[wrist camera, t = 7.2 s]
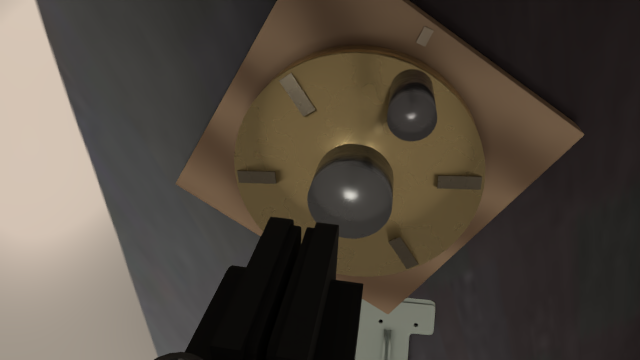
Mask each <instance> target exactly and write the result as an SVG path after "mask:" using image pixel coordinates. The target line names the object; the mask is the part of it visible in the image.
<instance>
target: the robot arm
mask: <svg viewBox="0 0 640 360" xmlns="http://www.w3.org/2000/svg"><path fill="white" fill-rule="evenodd" d="M338 239H339V225H335V224H327V223H319V222H317V223H316V225H315V228H311V227H307V229H306V231H305V234H304V237H303V240H302V243H301V226H295V225H294V220H293V219H287V218H279V217H270V218H269V220H268V222H267V224H266V227H265V229H264V231H263V233H262V235H261V237H260V239H259V242H258V244H257V246H256V248H255V250H254V252H253V255H252V257H251V259H250V261H249V263H248V265H247V267H240V266H230V267H229V268H228V270H227V271H226V273H225V275H224V277H223V279H222V281H221V283H220V285H219V287H218V289H217V291H216V293H215V295H214V297H213V299H212V300H211V302H210V304H209V306H208V308H207V310H206V312H205V314H204V316H203V318H202V320H201V322H200V324H199V326H198V328H197V330H196V331H195V333H194V335H193V337H192V339H191V341H190V343H189V345H188V347H187V349H186V351H185V352H177V353H169V354H166V355H163V356H160V357H158V358H156V359H154V360H355V355H356V347H357V339H358V330H359V322H360V313H361V303H362V294H363V283H355V282H348V281H341V280H336V270H337V254H338Z"/></svg>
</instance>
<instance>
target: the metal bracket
mask: <svg viewBox="0 0 640 360" xmlns="http://www.w3.org/2000/svg"><path fill="white" fill-rule="evenodd" d="M434 318H435V303H434V302H432V301H430V300H421V299H412V298H406V299H405V300H404V301H402V302H401V303H400V304H399V305H398V306H397V307H396V308H395V309H394V310H393V311H392V312H390V313H389V314H386V313H384V312H383V311H381V310H380V309H378V308H376V307H375V306H373V305H371V304H370V303H368V302H367V301H365V300H363V299H362V303H361V313H360V322H359V330H358V339H357V347H356V355H355V360H408V347H409V336H410V334H413V333H415V334H425V335H431V334H432V333H433V330H434ZM380 319H381V320H383V322H379V320H380ZM414 323H417V324H418V325H417V326H414Z"/></svg>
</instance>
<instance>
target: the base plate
mask: <svg viewBox="0 0 640 360" xmlns="http://www.w3.org/2000/svg"><path fill="white" fill-rule="evenodd" d="M346 45H368V46H379V47H383V48H388V49H392V50H396V51H399V52H401V53H404V54H407V55H410V56H412V57H414V58H416V59H418V60H420V61H422V62H423V63H425V64H427V65H429V66H430V67H431V68H433V69H434V70H435V71H437V72H438V73H440V74H441V75H442V76H443V77H444V78H445V79H446V80H447V81H448V82H449V83H450V84H451V85H452V86H453V87H454V88H455V89H456V91H457V92H458V93H459V94H460V96H461V97H462V98H463V100H464V102H465V103H466V105H467V107H468V109H469V110H470V112H471V114H472V117H473V120H474V122H475V125H476V127H477V130H478V133H479V137H480V140H481V143H482V148H483V152H484V157H485V182H484V190H483V193H482V197H481V201H480V204H479V206H478V209H477V211H476V213H475V216H474V217H473V219H472V221H471V222H470V224H469V226H468V227H467V229H466V230H465V231H464V232H463V233H462V235H461V236H460V237H459V238H458V239H457V240H456V241H455V242H454V243H453V244H452V245H451V246H450V247H449V248H448V249H447V250H445V251H444V252H442V253H441V254H440V255H438V256H437V257H435V258H433V259H432V260H430V261H428V262H426V263H424V264H422V265H420V266H417V267H415V268H412V269H410V270H406V271H403V272H399V273H396V274H390V275H383V276H370V277H362V276H349V275H342V274H336V280H341V281H348V282H355V283H363V294H362V299H363V300H365V301H367V302H368V303H370V304H371V305H373V306H375V307H376V308H378V309H380V310H381V311H383V312H384V313H386V314H389V313H390V312H392V311H393V310H394V309H395V308H396V307H397V306H398V305H399V304H400V303H401V302H402V301H404V300H405V299H406V298H407V297H408V296H409V295H410V294H411V293H412V292H413V291H414V290H416V289H417V288H418V287H419V286H420V285H421V284H422V283H423V282H424V281H425V280H426V279H428V278H429V277H430V276H431V275H432V274H433V273H434V272H435V271H436V270H437V269H439V268H440V267H441V266H442V265H443V264H444V263H445V262H446V261H447V260H448V259H449V258H451V257H452V256H453V255H454V254H455V253H456V252H457V251H458V250H459V249H460V248H461V247H463V246H464V245H465V244H466V243H467V242H468V241H469V240H470V239H471V238H472V237H473V236H475V235H476V234H477V233H478V232H479V231H480V230H481V229H482V228H483V227H484V226H485V225H487V224H488V223H489V222H490V221H491V220H492V219H493V218H494V217H495V216H496V215H497V214H499V213H500V212H501V211H502V210H503V209H504V208H505V207H506V206H507V205H508V204H509V203H511V202H512V201H513V200H514V199H515V198H516V197H517V196H518V195H519V194H520V193H521V192H523V191H524V190H525V189H526V188H527V187H528V186H529V185H530V184H531V183H532V182H533V181H535V180H536V179H537V178H538V177H539V176H540V175H541V174H542V173H543V172H544V171H545V170H547V169H548V168H549V167H550V166H551V165H552V164H553V163H554V162H555V161H556V160H557V159H559V158H560V157H561V156H562V155H563V154H564V153H565V152H566V151H567V150H568V149H569V148H571V147H572V146H573V145H574V144H575V143H576V142H577V141H578V140H579V139H580V138H582V137H583V136H584V133H583V132H582V131H581V130H580V128H579V127H578V126H577V125H576V124H575V122H573V121H572V120H571V119H569V118H568V117H566V116H565V115H564V114H562V113H561V112H560V111H558V110H557V109H556V108H554V107H553V106H552V105H550V104H549V103H547V102H546V101H545V100H543V99H542V98H541V97H539V96H538V95H537V94H535V93H534V92H533V91H531V90H530V89H529V88H527V87H526V86H524V85H523V84H522V83H520V82H519V81H518V80H516V79H515V78H514V77H512V76H511V75H510V74H508V73H507V72H506V71H504V70H503V69H501V68H500V67H499V66H497V65H496V64H495V63H493V62H492V61H491V60H489V59H488V58H487V57H485V56H484V55H482V54H481V53H480V52H478V51H477V50H476V49H474V48H473V47H472V46H470V45H469V44H468V43H466V42H465V41H464V40H462V39H461V38H459V37H458V36H457V35H455V34H454V33H453V32H451V31H450V30H449V29H447V28H446V27H445V26H443V25H442V24H441V23H439V22H438V21H436V20H435V19H434V18H432V17H431V16H430V15H428V14H427V13H426V12H424V11H423V10H422V9H420V8H419V7H417V6H416V5H415V4H413V3H412V2H411V1H409V0H277V2H276V3H275V5H274V7H273V9H272V11H271V12H270V14H269V16H268V18H267V20H266V21H265V23H264V25H263V27H262V29H261V30H260V32H259V34H258V36H257V38H256V39H255V41H254V43H253V45H252V47H251V48H250V50H249V52H248V54H247V56H246V58H245V59H244V61H243V63H242V65H241V67H240V68H239V70H238V72H237V74H236V76H235V77H234V79H233V81H232V83H231V85H230V86H229V88H228V90H227V92H226V94H225V95H224V97H223V99H222V101H221V103H220V104H219V106H218V108H217V110H216V112H215V113H214V115H213V117H212V119H211V121H210V122H209V124H208V126H207V128H206V130H205V132H204V133H203V135H202V137H201V139H200V141H199V142H198V144H197V146H196V148H195V150H194V151H193V153H192V155H191V157H190V159H189V160H188V162H187V164H186V166H185V168H184V169H183V171H182V173H181V175H180V177H179V178H178V180H177V182H176V185H178V186H180V187H181V188H183V189H185V190H186V191H188V192H189V193H191V194H193V195H194V196H196V197H198V198H199V199H201V200H202V201H204V202H206V203H207V204H209V205H211V206H212V207H214V208H215V209H217V210H219V211H220V212H222V213H224V214H225V215H227V216H228V217H230V218H232V219H233V220H235V221H237V222H238V223H240V224H241V225H243V226H245V227H246V228H248V229H250V230H251V231H253V232H254V233H256V234H258V235H259V236H261V235H262V233H263V231H262V230H261V229H260V228H259V226H258V225H257V224H256V223H255V221H254V220H253V218H252V217H251V215H250V213H249V212H248V210H247V208H246V206H245V204H244V202H243V200H242V197H241V194H240V191H239V188H238V185H237V180H236V175H235V164H234V154H235V144H236V140H237V135H238V131H239V128H240V126H241V123H242V121H243V119H244V116H245V114H246V113H247V111H248V109H249V108H250V106H251V104H252V103H253V101H254V100H255V99H256V98H257V97H258V95H259V94H260V93H261V92H262V91H263V89H264V88H265V87H266V86H267V85H268V84H269V82H270V81H271V80H272V79H273V78H274V77H276V76H277V75H278V74H279V73H280V72H281V71H282V70H283V69H285V68H286V67H288V66H289V65H291V64H292V63H294V62H295V61H297V60H299V59H301V58H303V57H305V56H307V55H309V54H312V53H315V52H318V51H321V50H324V49H327V48H333V47H338V46H346Z"/></svg>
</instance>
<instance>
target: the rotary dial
mask: <svg viewBox="0 0 640 360" xmlns="http://www.w3.org/2000/svg"><path fill="white" fill-rule="evenodd" d="M234 164H235V175H236V180H237V185H238V188H239V191H240V194H241V197H242V200H243V202H244V204H245V206H246V208H247V210H248V212H249V213H250V215H251V217H252V218H253V220H254V221H255V223H256V224H257V225H258V226H259V228H260V229H261V230H262V231H264V229H265V227H266V224H267V222H268V220H269V218H270V217H279V218H287V219H293V220H294V225H295V226H301V243H302V240H303V237H304V234H305V231H306V229H307V227H311V228H315V225H316V223H317V222H319V223H327V224H335V225H339V239H338V254H337V270H336V274H342V275H349V276H362V277H370V276H383V275H390V274H396V273H399V272H403V271H406V270H410V269H412V268H415V267H417V266H420V265H422V264H424V263H426V262H428V261H430V260H432V259H433V258H435V257H437V256H438V255H440V254H441V253H442V252H444V251H445V250H447V249H448V248H449V247H450V246H451V245H452V244H453V243H454V242H455V241H456V240H457V239H458V238H459V237H460V236H461V235H462V233H463V232H464V231H465V230H466V229H467V227H468V226H469V224H470V222H471V221H472V219H473V217H474V216H475V213H476V211H477V209H478V206H479V204H480V201H481V197H482V193H483V190H484V182H485V157H484V152H483V148H482V143H481V140H480V137H479V133H478V130H477V127H476V125H475V122H474V120H473V117H472V114H471V112H470V110H469V109H468V107H467V105H466V103H465V102H464V100H463V98H462V97H461V96H460V94H459V93H458V92H457V91H456V89H455V88H454V87H453V86H452V85H451V84H450V83H449V82H448V81H447V80H446V79H445V78H444V77H443V76H442V75H441V74H440V73H438V72H437V71H435V70H434V69H433V68H431V67H430V66H429V65H427V64H425V63H423V62H422V61H420V60H418V59H416V58H414V57H412V56H410V55H407V54H404V53H401V52H399V51H396V50H392V49H388V48H383V47H379V46H368V45H346V46H338V47H333V48H327V49H324V50H321V51H318V52H315V53H312V54H309V55H307V56H305V57H303V58H301V59H299V60H297V61H295V62H294V63H292V64H291V65H289V66H288V67H286V68H285V69H283V70H282V71H281V72H280V73H279V74H278V75H277V76H276V77H274V78H273V79H272V80H271V81H270V82H269V84H268V85H267V86H266V87H265V88H264V89H263V91H262V92H261V93H260V94H259V95H258V97H257V98H256V99H255V100H254V101H253V103H252V104H251V106H250V108H249V109H248V111H247V113H246V114H245V116H244V119H243V121H242V123H241V126H240V128H239V131H238V135H237V140H236V144H235V154H234Z"/></svg>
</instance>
